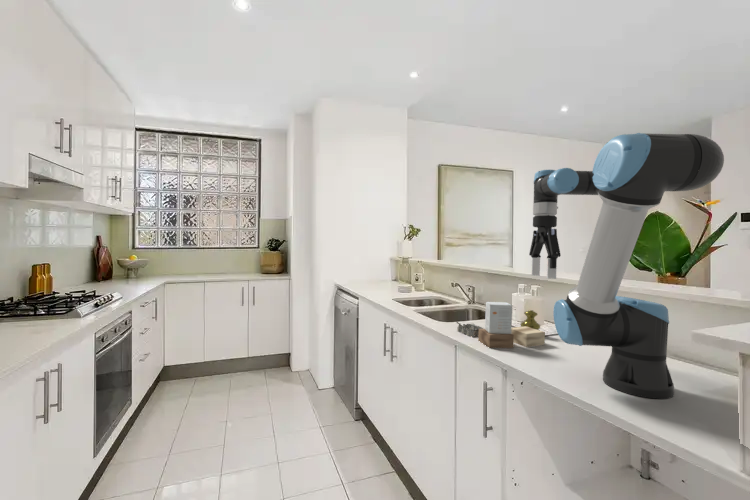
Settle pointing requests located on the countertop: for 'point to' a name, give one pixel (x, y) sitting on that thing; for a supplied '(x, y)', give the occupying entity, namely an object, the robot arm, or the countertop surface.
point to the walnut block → (495, 339)
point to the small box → (498, 317)
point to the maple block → (528, 336)
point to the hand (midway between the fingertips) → (542, 277)
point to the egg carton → (471, 327)
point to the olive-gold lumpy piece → (530, 320)
